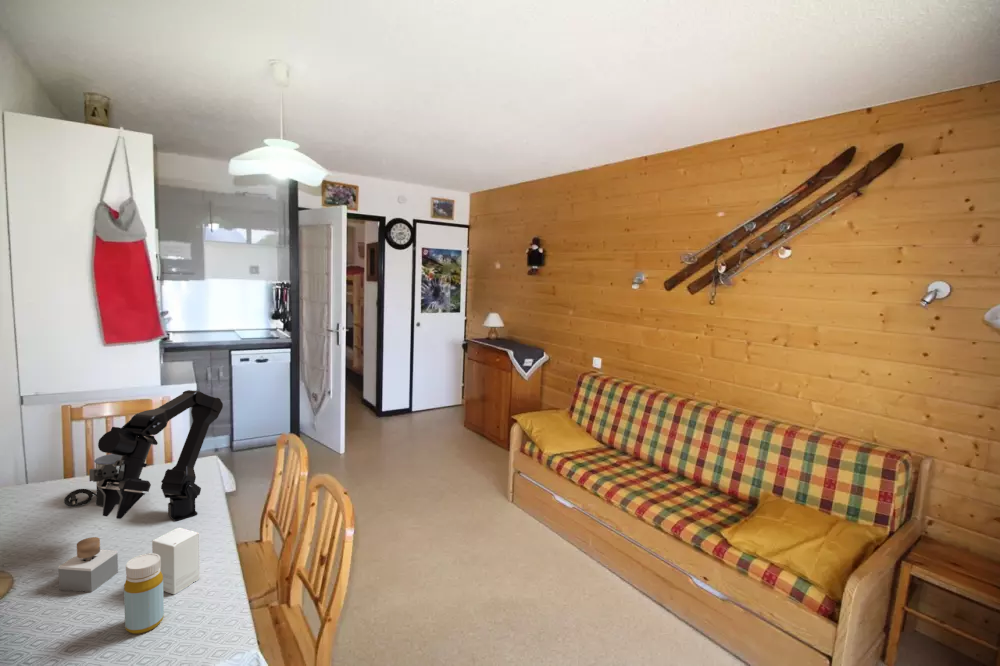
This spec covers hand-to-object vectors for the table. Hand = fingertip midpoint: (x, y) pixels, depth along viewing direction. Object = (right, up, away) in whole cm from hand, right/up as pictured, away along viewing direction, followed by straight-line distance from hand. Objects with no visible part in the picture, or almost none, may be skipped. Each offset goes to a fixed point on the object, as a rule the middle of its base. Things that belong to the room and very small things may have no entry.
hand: (111, 517), depth 132 cm
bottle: (+25, -16, -22) cm, 37 cm away
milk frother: (-29, -7, +32) cm, 44 cm away
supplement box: (+22, -14, -7) cm, 27 cm away
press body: (+1, -13, -8) cm, 15 cm away
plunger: (+1, -11, -9) cm, 14 cm away
